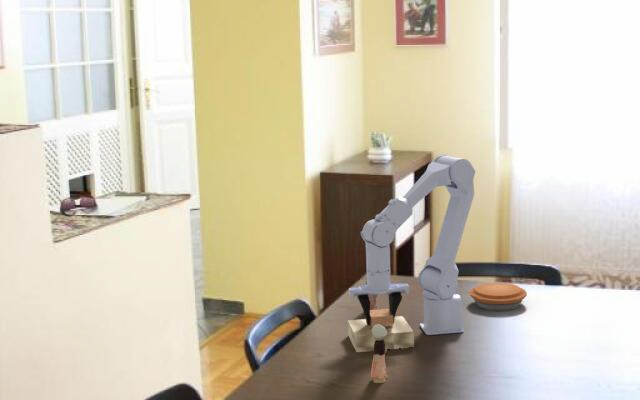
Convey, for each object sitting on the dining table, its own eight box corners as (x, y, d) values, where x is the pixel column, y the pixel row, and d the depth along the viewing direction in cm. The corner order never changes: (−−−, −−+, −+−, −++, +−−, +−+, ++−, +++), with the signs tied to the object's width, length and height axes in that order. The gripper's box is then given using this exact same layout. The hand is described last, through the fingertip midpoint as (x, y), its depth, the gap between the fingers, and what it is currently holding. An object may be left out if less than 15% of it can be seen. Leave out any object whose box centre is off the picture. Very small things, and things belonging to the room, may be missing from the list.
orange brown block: (389, 331, 223) (388, 308, 222) (393, 338, 218) (393, 315, 216) (367, 333, 222) (367, 310, 221) (371, 340, 217) (371, 317, 216)
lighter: (374, 317, 239) (373, 281, 237) (362, 316, 239) (361, 280, 238) (378, 307, 247) (377, 272, 245) (366, 307, 247) (365, 272, 245)
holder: (402, 331, 227) (402, 316, 226) (414, 347, 215) (413, 331, 215) (348, 335, 225) (347, 320, 225) (356, 352, 214) (356, 336, 213)
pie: (534, 300, 248) (535, 283, 247) (514, 317, 235) (514, 298, 234) (482, 293, 256) (482, 276, 255) (460, 309, 243) (460, 291, 242)
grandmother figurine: (371, 373, 200) (370, 319, 198) (389, 373, 200) (387, 319, 197) (370, 387, 193) (368, 330, 190) (388, 387, 192) (386, 330, 190)
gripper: (351, 276, 212) (353, 330, 215) (411, 271, 214) (412, 325, 216) (346, 268, 219) (348, 321, 222) (404, 264, 221) (406, 316, 223)
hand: (379, 323), depth 219 cm, fingers closed on orange brown block, 5 cm apart
